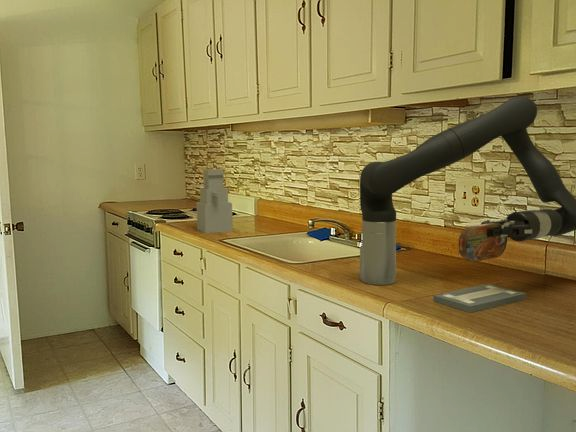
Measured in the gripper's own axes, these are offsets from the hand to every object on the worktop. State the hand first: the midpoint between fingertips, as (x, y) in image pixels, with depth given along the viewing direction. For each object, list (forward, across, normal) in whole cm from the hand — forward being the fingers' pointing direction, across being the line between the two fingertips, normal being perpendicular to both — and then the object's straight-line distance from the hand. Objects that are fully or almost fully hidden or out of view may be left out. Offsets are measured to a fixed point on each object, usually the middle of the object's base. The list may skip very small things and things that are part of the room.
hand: (482, 231), depth 130 cm
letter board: (0, 0, +17) cm, 17 cm away
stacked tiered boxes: (+7, -145, +17) cm, 146 cm away
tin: (0, 0, +7) cm, 7 cm away
